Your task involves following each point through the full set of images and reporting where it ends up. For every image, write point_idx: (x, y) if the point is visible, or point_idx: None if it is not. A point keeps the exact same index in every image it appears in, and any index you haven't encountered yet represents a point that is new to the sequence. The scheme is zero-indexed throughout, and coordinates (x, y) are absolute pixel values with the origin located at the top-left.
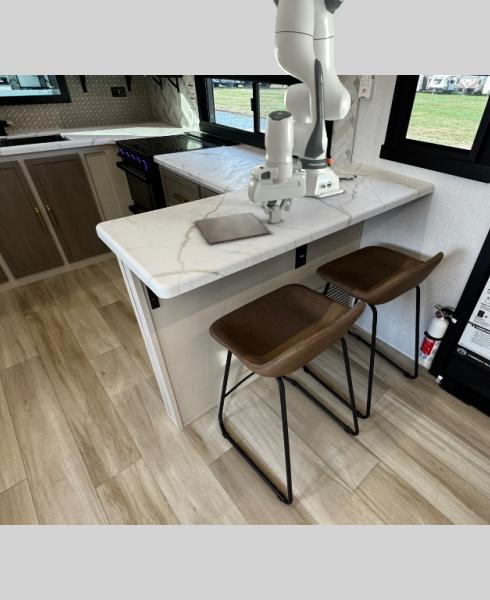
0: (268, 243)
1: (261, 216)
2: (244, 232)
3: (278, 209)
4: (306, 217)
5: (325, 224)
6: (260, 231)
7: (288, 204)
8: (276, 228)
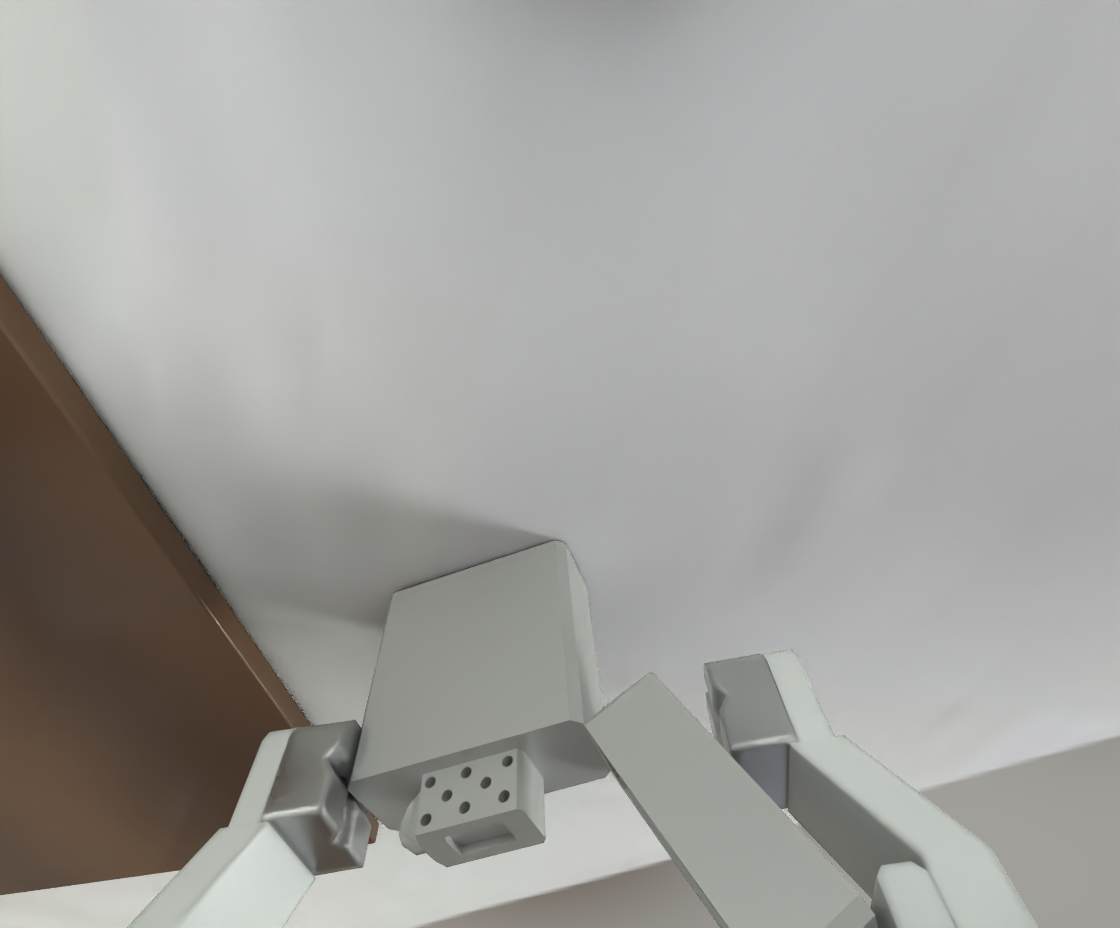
0: (345, 915)
1: (262, 376)
2: (69, 828)
3: (546, 779)
4: (1052, 528)
5: (1099, 723)
6: None
7: (811, 810)
8: None
